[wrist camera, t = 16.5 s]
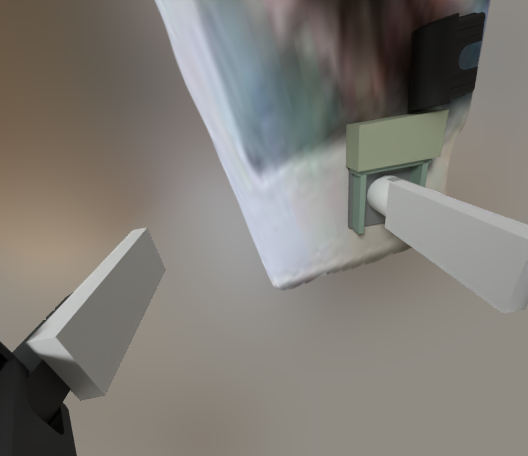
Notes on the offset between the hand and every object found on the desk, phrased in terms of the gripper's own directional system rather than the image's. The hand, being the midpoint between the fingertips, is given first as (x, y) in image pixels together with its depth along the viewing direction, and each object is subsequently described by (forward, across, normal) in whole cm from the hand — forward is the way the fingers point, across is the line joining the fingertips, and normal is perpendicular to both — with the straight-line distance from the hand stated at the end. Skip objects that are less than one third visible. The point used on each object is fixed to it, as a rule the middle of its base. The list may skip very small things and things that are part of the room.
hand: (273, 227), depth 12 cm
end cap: (+29, +29, +8) cm, 42 cm away
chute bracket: (+29, +24, -8) cm, 38 cm away
